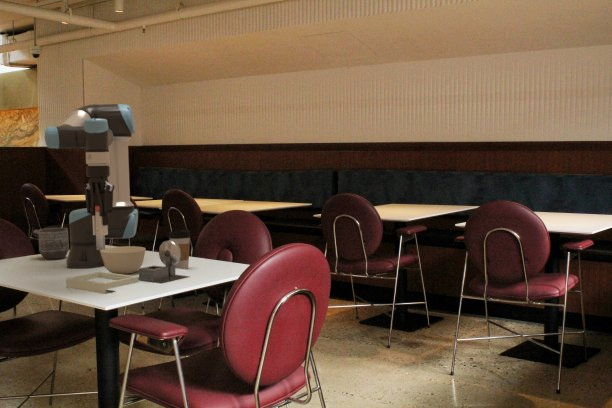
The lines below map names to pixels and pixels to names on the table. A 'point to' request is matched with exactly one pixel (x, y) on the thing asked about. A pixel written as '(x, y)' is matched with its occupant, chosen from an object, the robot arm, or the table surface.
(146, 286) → the table surface
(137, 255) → the bowl
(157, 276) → the block
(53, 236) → the planter
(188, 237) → the coffee cup
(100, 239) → the pin
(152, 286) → the table surface
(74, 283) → the tray
